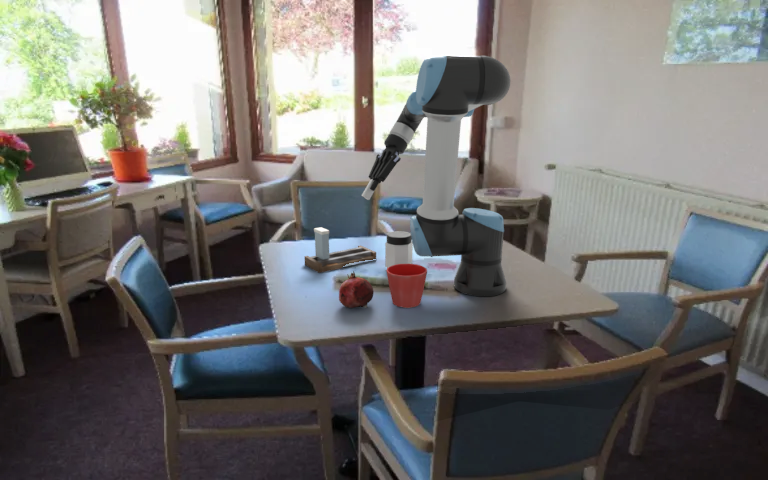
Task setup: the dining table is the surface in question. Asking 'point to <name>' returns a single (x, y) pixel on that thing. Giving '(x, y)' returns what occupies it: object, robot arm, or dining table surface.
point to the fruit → (355, 292)
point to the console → (340, 259)
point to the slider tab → (321, 243)
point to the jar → (398, 248)
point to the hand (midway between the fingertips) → (365, 197)
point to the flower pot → (406, 284)
